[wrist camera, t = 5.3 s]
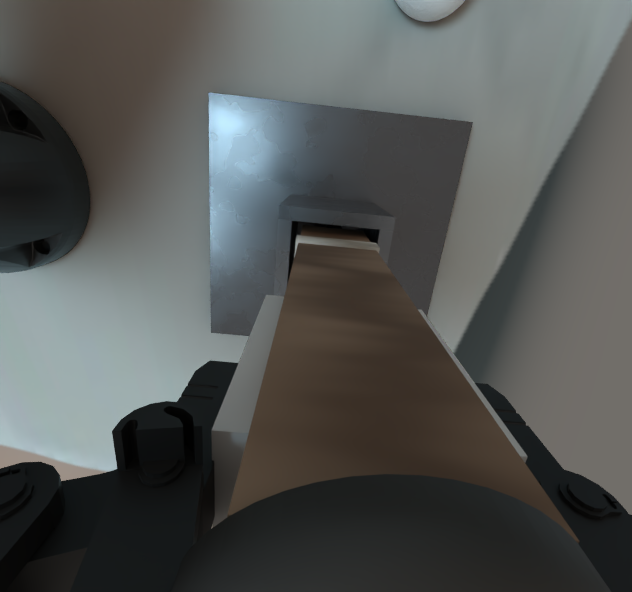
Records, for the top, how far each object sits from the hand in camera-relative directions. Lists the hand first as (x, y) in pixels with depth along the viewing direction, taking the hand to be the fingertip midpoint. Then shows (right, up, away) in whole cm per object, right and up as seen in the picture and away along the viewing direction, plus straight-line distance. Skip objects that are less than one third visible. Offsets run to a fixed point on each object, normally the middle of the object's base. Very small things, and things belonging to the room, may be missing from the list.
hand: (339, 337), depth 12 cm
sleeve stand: (0, +7, +18) cm, 19 cm away
